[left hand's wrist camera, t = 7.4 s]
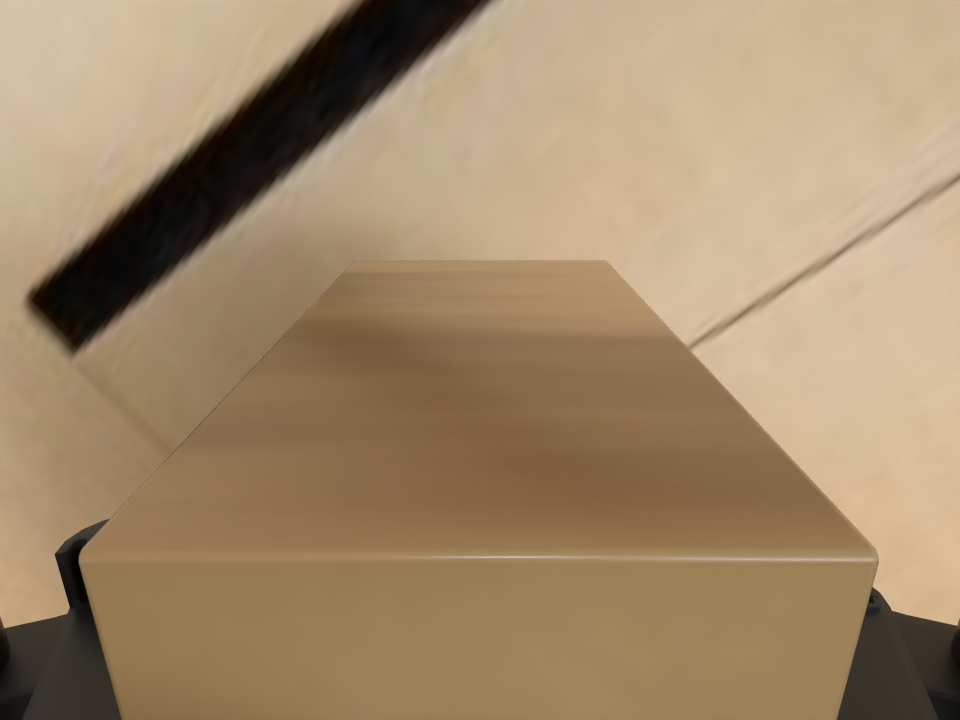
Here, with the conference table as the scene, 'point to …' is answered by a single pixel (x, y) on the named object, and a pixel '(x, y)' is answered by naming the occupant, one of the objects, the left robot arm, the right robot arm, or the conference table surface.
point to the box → (479, 523)
